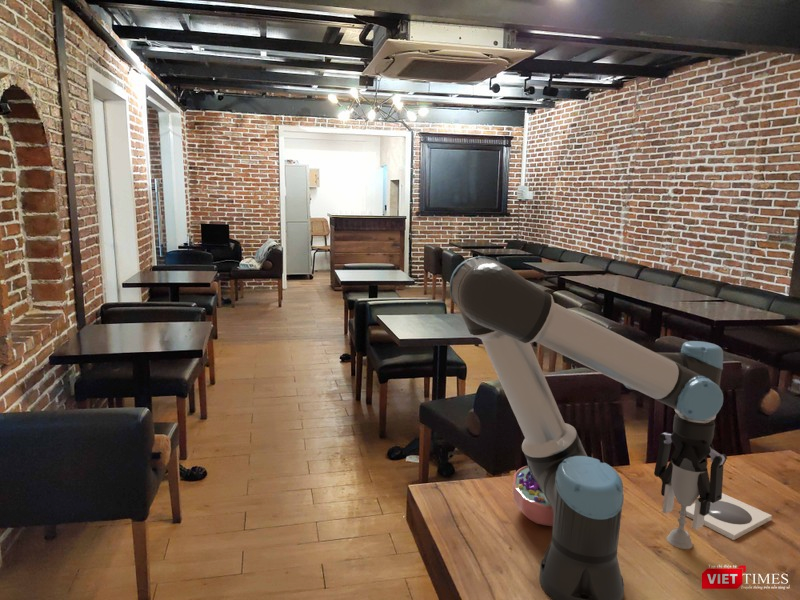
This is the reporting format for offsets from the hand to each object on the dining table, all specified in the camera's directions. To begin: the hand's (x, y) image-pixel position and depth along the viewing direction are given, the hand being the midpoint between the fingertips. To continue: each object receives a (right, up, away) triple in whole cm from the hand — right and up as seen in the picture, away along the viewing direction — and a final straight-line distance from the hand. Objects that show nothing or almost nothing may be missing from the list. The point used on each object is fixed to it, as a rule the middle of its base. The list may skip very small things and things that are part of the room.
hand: (682, 518), depth 118 cm
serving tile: (+16, -4, +11) cm, 20 cm away
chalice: (0, -5, +1) cm, 6 cm away
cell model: (-26, -4, +9) cm, 28 cm away
